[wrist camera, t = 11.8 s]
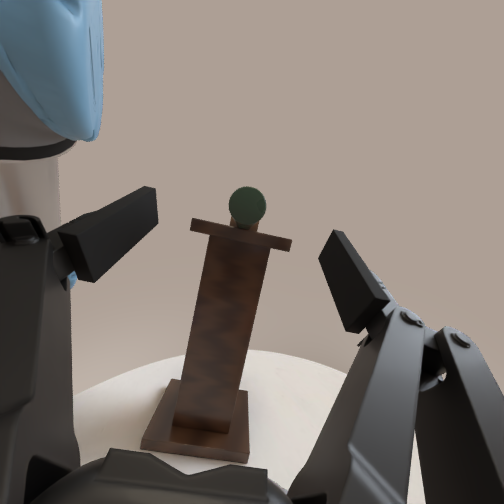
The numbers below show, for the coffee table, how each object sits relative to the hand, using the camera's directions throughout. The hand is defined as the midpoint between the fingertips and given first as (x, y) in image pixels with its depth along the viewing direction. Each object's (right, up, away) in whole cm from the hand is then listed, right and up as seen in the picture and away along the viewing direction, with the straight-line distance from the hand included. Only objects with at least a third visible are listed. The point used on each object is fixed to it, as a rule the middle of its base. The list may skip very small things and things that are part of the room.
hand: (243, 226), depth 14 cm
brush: (0, +1, +8) cm, 8 cm away
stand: (-7, -28, +15) cm, 33 cm away
